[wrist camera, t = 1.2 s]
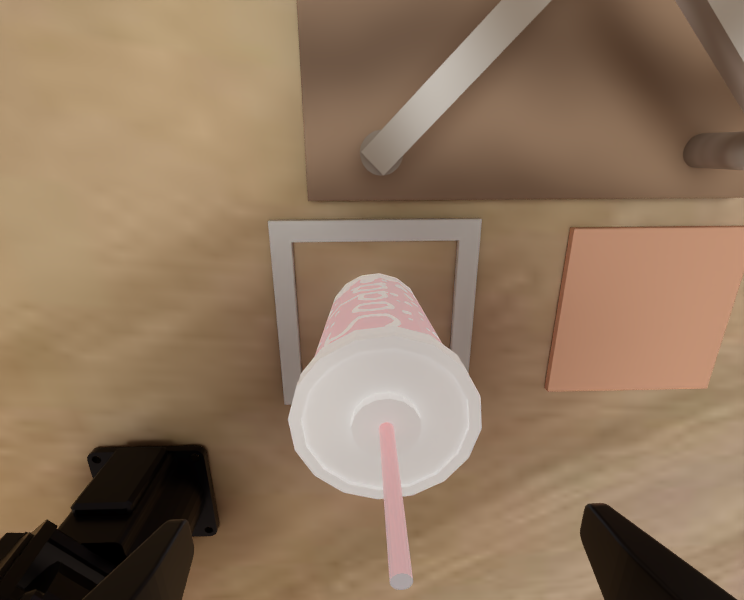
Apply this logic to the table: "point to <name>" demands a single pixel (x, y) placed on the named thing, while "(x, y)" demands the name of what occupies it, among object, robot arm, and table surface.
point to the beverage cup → (384, 405)
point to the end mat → (644, 306)
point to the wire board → (522, 99)
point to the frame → (369, 230)
